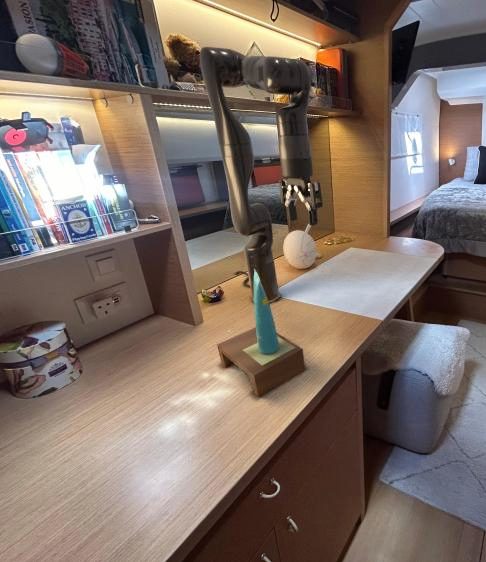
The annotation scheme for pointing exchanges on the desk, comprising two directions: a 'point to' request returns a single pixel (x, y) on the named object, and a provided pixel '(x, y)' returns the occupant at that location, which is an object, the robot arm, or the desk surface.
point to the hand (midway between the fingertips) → (303, 222)
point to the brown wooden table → (262, 360)
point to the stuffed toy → (300, 249)
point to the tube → (264, 320)
